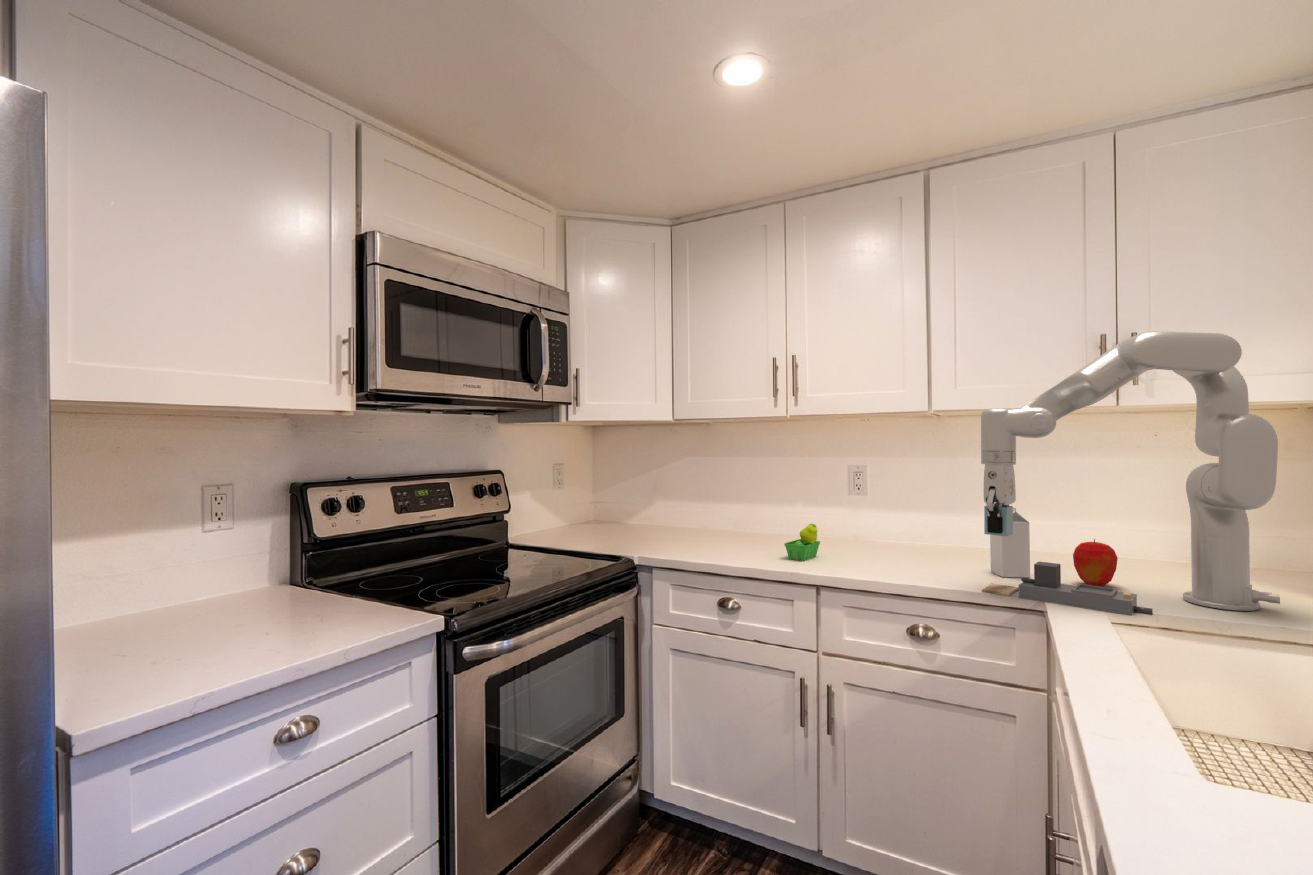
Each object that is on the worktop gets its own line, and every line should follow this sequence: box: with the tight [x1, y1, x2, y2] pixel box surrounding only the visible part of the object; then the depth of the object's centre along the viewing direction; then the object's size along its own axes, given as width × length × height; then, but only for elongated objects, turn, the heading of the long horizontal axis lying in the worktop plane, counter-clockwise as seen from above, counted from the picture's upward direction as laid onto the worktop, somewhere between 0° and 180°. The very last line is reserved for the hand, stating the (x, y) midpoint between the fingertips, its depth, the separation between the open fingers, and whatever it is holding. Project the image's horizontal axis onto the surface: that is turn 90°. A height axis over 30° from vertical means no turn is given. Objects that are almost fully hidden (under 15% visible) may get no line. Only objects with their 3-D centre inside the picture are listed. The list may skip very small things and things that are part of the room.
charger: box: [983, 504, 1014, 536], centre depth 147 cm, size 5×5×7 cm
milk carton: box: [989, 506, 1031, 578], centre depth 163 cm, size 7×7×19 cm
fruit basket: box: [783, 523, 821, 562], centre depth 189 cm, size 11×9×11 cm
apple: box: [1072, 538, 1119, 587], centre depth 150 cm, size 9×9×12 cm
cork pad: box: [981, 583, 1019, 597], centre depth 147 cm, size 6×8×1 cm
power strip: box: [1018, 561, 1154, 616], centre depth 135 cm, size 24×8×8 cm, turn 45°
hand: (998, 530), depth 147 cm, fingers closed on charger, 5 cm apart
